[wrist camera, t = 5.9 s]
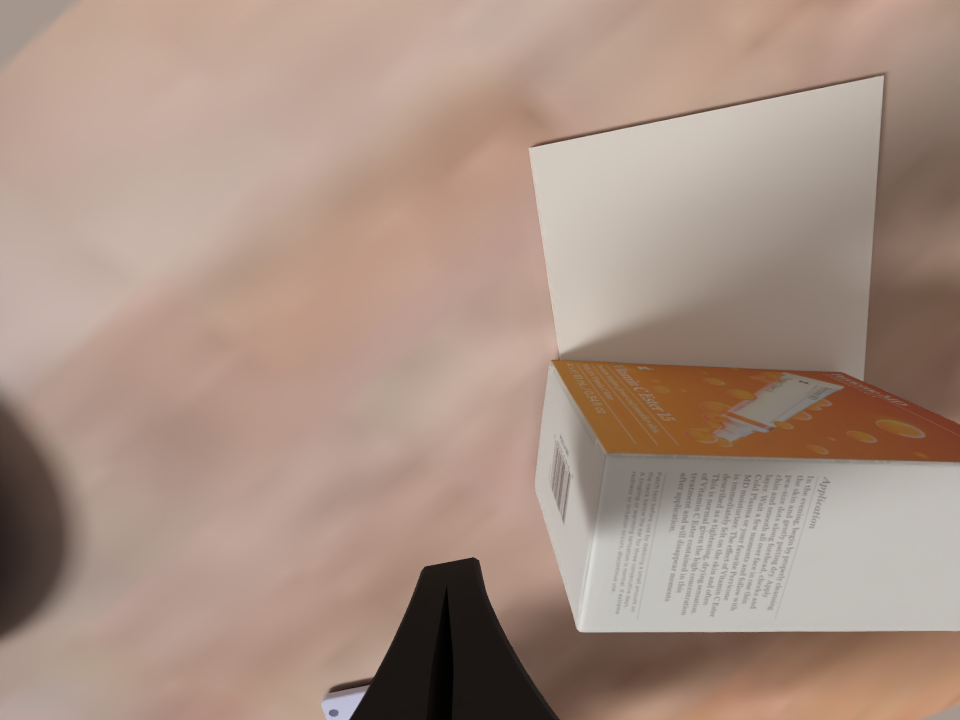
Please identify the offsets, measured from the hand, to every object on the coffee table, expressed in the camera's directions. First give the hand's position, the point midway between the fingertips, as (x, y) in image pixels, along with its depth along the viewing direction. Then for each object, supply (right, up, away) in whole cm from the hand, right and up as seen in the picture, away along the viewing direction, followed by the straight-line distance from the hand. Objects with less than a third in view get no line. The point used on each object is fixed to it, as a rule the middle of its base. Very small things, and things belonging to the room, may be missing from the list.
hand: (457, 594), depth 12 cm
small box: (+3, +2, +6) cm, 7 cm away
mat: (+11, +5, +9) cm, 15 cm away
